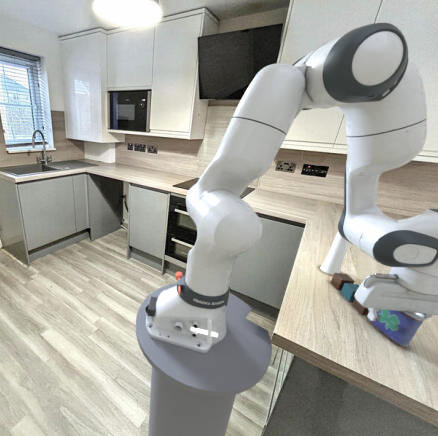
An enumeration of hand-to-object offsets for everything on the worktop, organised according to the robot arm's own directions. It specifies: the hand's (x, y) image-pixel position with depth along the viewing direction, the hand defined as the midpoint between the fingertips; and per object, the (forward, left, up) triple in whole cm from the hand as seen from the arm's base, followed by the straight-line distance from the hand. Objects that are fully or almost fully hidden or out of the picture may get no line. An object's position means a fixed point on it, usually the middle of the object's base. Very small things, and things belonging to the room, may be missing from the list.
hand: (392, 321), depth 60 cm
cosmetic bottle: (+2, +28, -4) cm, 29 cm away
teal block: (0, +14, -4) cm, 14 cm away
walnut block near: (0, +8, -4) cm, 9 cm away
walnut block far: (0, +19, -4) cm, 19 cm away
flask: (0, 0, -4) cm, 4 cm away
